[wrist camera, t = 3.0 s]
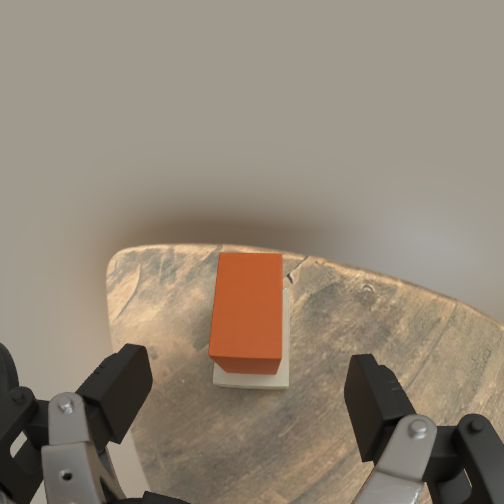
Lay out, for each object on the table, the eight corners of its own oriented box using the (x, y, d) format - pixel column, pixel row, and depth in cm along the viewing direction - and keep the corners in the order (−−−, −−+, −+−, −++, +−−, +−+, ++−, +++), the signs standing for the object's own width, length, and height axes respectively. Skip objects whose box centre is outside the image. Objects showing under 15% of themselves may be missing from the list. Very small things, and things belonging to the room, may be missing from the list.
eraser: (285, 389, 17) (300, 376, 10) (218, 386, 17) (188, 371, 10) (286, 302, 20) (297, 240, 13) (226, 300, 20) (206, 239, 14)
